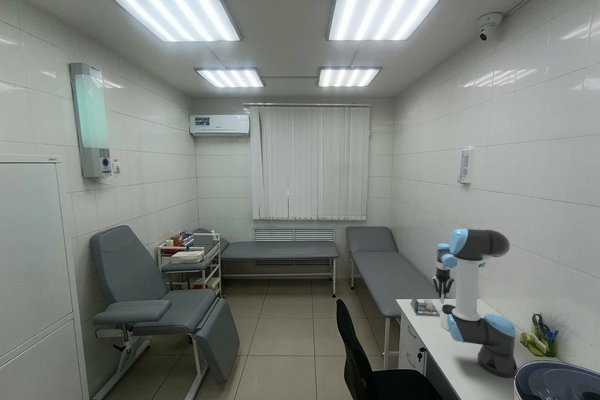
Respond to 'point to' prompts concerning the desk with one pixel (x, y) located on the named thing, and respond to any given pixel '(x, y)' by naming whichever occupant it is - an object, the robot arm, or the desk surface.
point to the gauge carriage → (428, 304)
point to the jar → (444, 313)
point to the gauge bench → (422, 308)
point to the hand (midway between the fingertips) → (441, 302)
